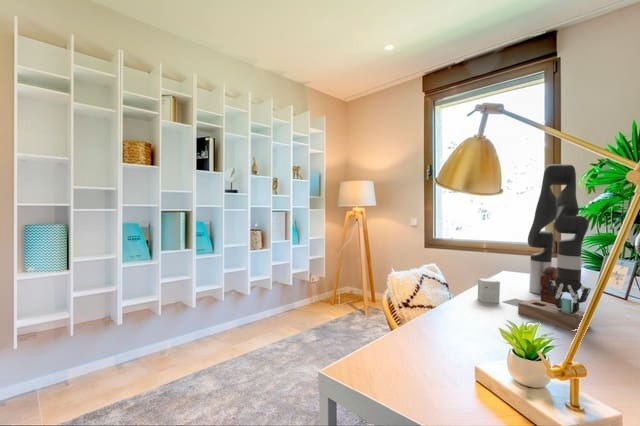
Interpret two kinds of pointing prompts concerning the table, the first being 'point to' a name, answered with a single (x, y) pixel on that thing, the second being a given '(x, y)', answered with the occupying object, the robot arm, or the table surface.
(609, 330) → the table surface
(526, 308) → the socket block
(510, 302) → the mat
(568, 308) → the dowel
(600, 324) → the table surface
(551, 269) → the wooden figurine
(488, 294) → the small box
